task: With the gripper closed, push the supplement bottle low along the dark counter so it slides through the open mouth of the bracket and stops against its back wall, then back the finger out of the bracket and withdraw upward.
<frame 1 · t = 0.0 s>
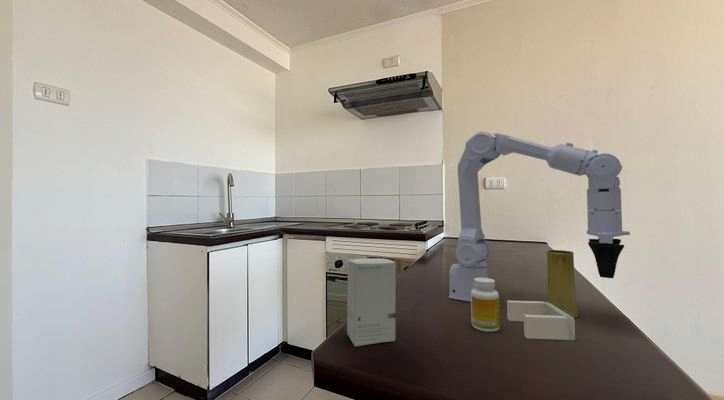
hand: (605, 274, 64), 10 cm above the counter, tool pointing down, fingers open, 7 cm apart
skincare box: (371, 338, 57), on the counter
supplement bottle: (485, 328, 61), on the counter
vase: (561, 314, 68), on the counter
bracket: (539, 328, 60), on the counter
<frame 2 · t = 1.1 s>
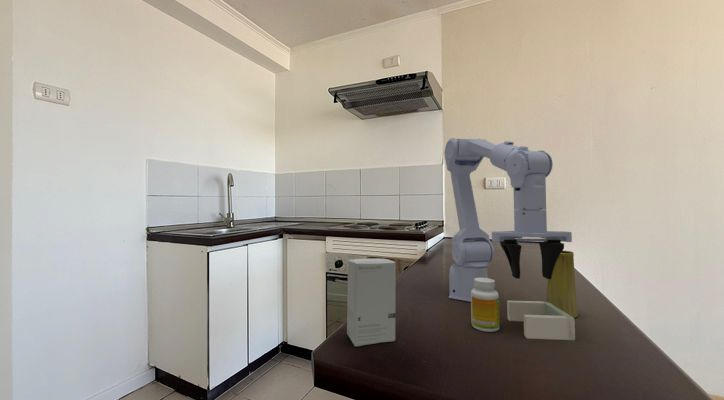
hand: (531, 277, 60), 10 cm above the counter, tool pointing down, fingers open, 5 cm apart
nothing on the counter moved.
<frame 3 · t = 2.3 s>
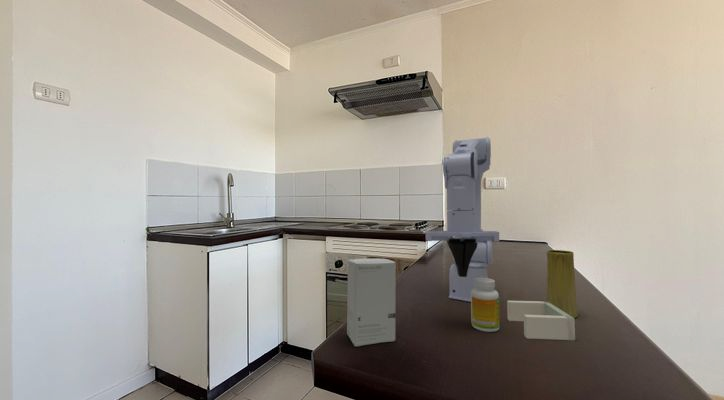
hand: (462, 275, 62), 10 cm above the counter, tool pointing down, fingers closed
nothing on the counter moved.
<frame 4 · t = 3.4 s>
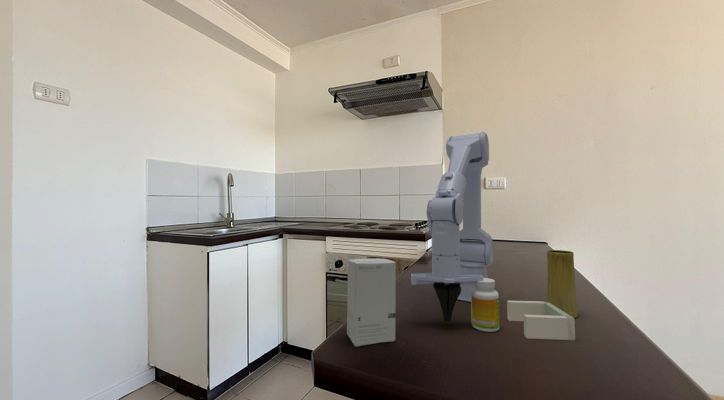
hand: (446, 319, 62), 1 cm above the counter, tool pointing down, fingers closed
nothing on the counter moved.
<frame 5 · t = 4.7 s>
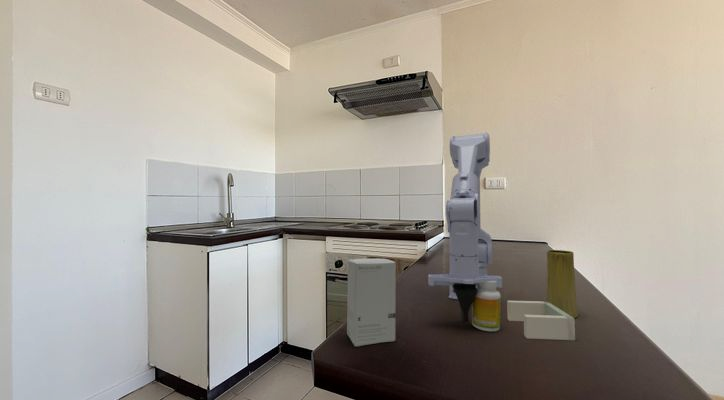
hand: (464, 320, 62), 1 cm above the counter, tool pointing down, fingers closed, pressing on supplement bottle
supplement bottle: (485, 327, 61), on the counter, touching gripper
everything else where it was.
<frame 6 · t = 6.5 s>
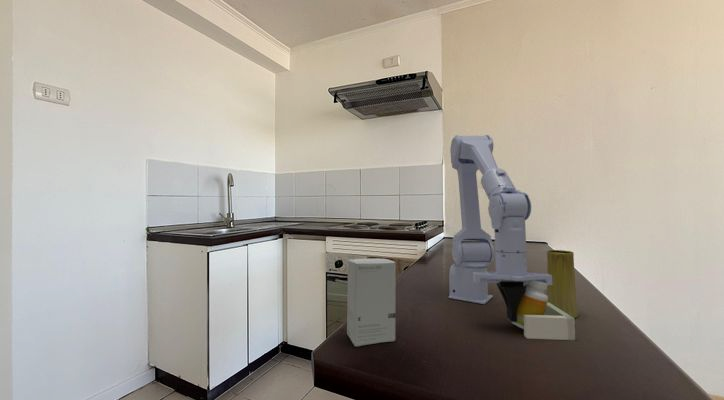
hand: (512, 320, 60), 2 cm above the counter, tool pointing down, fingers closed, pressing on supplement bottle
supplement bottle: (523, 327, 60), on the counter, touching gripper
everything else where it was.
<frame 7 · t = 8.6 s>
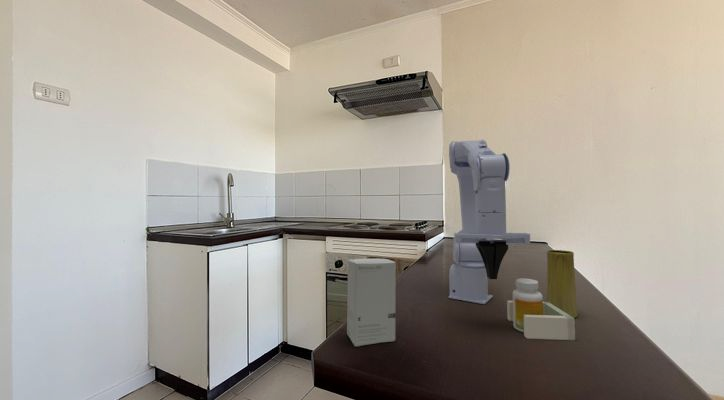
hand: (492, 278, 62), 10 cm above the counter, tool pointing down, fingers closed
supplement bottle: (528, 329, 60), on the counter
everything else where it was.
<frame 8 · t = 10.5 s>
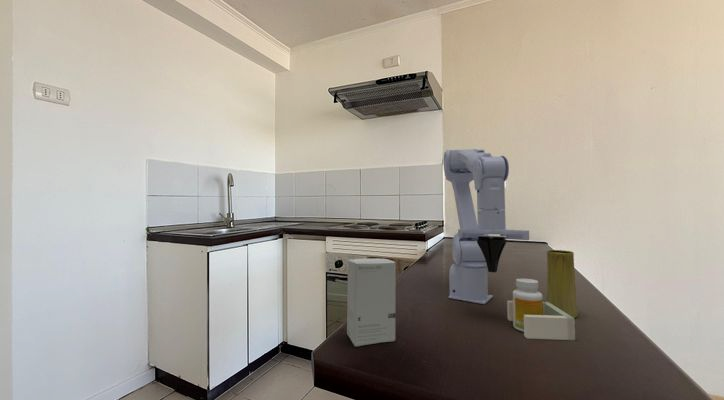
hand: (492, 271, 66), 10 cm above the counter, tool pointing down, fingers closed
nothing on the counter moved.
at the end: supplement bottle 2.4 cm from the bracket (horizontally); supplement bottle tilted 1°; supplement bottle moved 8.2 cm from its start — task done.
